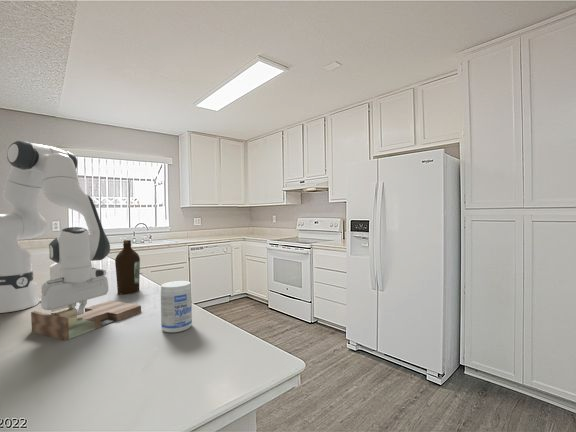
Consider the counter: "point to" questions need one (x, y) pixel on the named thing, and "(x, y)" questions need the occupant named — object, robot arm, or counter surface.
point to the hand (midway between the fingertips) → (78, 314)
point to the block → (67, 314)
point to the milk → (55, 275)
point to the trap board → (82, 319)
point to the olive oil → (127, 269)
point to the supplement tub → (176, 306)
